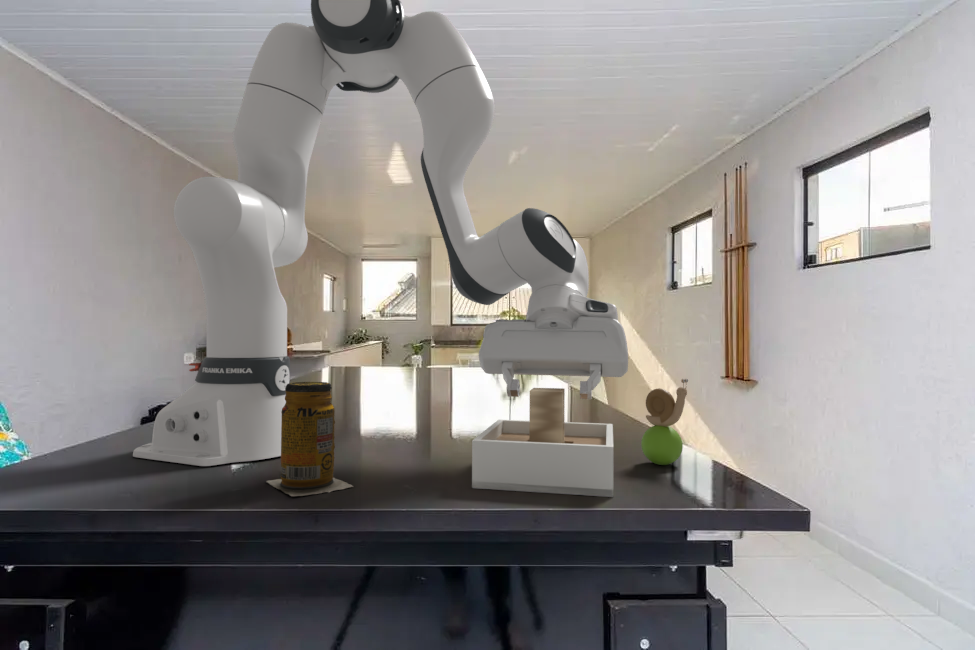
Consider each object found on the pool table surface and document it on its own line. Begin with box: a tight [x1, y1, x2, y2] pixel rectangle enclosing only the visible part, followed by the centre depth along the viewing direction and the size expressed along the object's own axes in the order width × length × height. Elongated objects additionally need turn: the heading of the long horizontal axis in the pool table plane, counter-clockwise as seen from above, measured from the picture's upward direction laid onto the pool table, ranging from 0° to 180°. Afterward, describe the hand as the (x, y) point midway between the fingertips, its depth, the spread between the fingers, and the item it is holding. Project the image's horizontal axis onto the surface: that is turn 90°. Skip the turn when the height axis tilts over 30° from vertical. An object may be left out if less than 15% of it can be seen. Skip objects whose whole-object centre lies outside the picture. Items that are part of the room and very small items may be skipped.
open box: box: [471, 419, 614, 498], centre depth 72 cm, size 16×16×6 cm
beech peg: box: [529, 387, 566, 443], centre depth 72 cm, size 4×4×10 cm
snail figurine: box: [640, 378, 689, 466], centre depth 78 cm, size 5×6×12 cm
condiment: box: [266, 381, 354, 497], centre depth 67 cm, size 7×8×12 cm
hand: (548, 395), depth 74 cm, fingers open, 8 cm apart
